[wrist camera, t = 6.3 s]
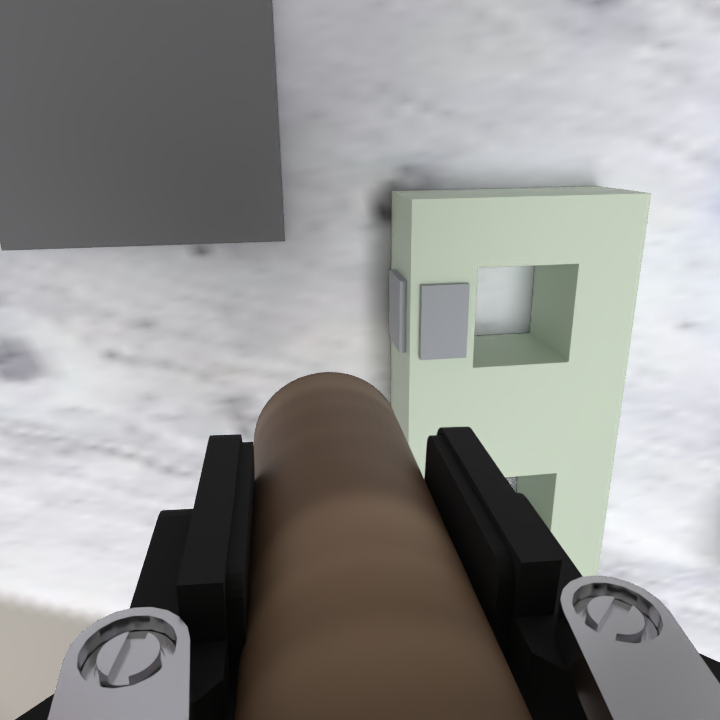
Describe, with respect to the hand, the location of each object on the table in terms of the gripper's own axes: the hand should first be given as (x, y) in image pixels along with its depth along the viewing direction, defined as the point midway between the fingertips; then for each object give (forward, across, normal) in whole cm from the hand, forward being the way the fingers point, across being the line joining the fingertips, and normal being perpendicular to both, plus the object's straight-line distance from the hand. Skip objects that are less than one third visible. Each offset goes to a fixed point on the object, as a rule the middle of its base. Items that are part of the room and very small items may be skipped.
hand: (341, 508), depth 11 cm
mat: (+19, +7, -8) cm, 22 cm away
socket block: (+19, -10, +6) cm, 22 cm away
